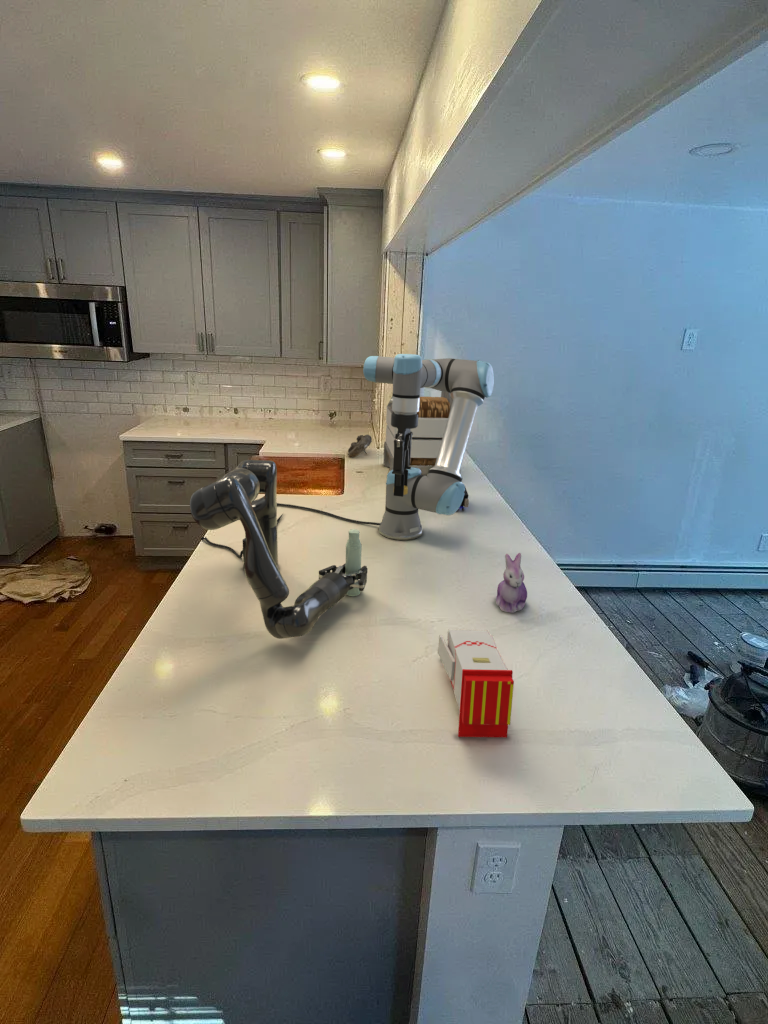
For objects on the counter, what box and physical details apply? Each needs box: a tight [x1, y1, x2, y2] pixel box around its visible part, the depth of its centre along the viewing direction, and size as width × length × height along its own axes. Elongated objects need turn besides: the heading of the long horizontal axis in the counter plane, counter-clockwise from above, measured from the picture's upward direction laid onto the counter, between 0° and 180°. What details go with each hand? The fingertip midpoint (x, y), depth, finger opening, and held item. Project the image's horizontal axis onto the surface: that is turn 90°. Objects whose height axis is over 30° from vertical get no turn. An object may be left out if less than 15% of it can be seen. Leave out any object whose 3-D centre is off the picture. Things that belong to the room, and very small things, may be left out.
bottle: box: [344, 528, 363, 597], centre depth 154 cm, size 4×4×18 cm
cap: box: [393, 485, 408, 495], centre depth 163 cm, size 4×4×2 cm
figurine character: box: [458, 486, 470, 512], centre depth 229 cm, size 7×8×15 cm
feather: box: [277, 513, 284, 525], centre depth 210 cm, size 2×28×2 cm
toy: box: [437, 628, 515, 738], centre depth 117 cm, size 12×13×30 cm
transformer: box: [383, 391, 462, 475], centre depth 268 cm, size 34×33×41 cm
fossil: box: [347, 434, 373, 459], centre depth 304 cm, size 22×10×15 cm
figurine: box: [495, 552, 528, 614], centre depth 152 cm, size 9×10×15 cm
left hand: (357, 567), depth 158 cm, fingers closed on bottle, 4 cm apart
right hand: (400, 493), depth 164 cm, fingers closed on cap, 4 cm apart
